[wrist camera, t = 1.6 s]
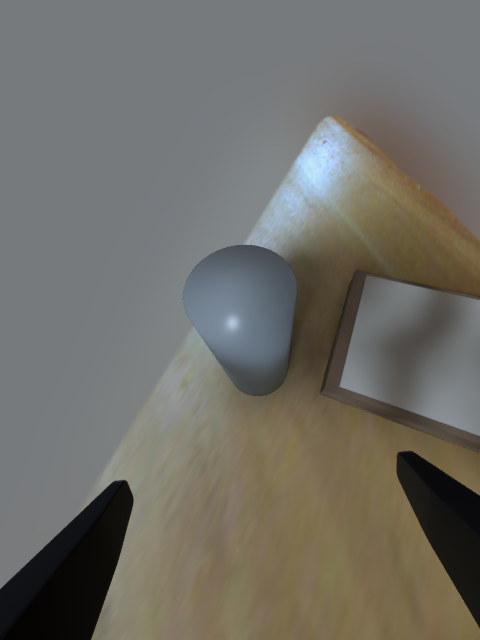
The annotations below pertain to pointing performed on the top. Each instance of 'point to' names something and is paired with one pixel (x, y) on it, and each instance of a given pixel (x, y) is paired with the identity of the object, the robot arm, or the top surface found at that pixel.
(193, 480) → the top surface
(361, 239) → the top surface
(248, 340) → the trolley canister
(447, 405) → the plate
